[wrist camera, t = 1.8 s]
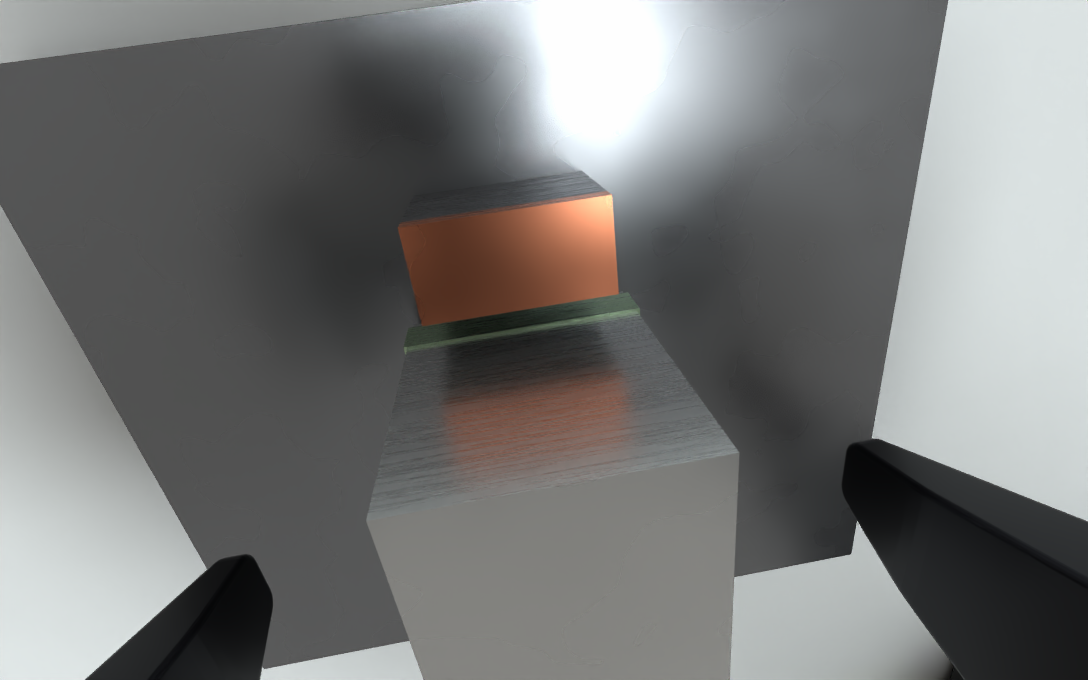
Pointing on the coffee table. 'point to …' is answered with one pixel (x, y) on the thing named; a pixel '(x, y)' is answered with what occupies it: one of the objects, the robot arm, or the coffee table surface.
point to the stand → (471, 244)
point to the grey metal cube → (556, 502)
